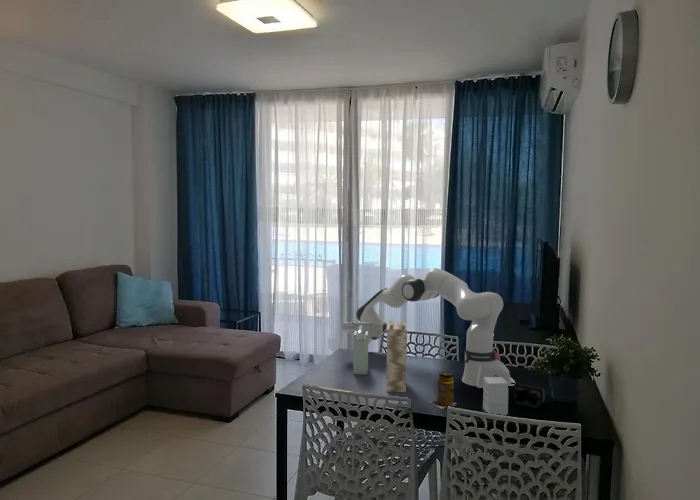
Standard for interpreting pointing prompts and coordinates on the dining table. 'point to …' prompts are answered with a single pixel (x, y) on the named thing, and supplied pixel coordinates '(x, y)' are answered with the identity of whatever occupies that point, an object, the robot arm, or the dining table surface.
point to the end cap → (529, 394)
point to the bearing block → (396, 356)
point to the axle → (360, 333)
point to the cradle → (360, 354)
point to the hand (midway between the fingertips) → (362, 323)
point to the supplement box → (495, 395)
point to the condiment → (445, 390)
